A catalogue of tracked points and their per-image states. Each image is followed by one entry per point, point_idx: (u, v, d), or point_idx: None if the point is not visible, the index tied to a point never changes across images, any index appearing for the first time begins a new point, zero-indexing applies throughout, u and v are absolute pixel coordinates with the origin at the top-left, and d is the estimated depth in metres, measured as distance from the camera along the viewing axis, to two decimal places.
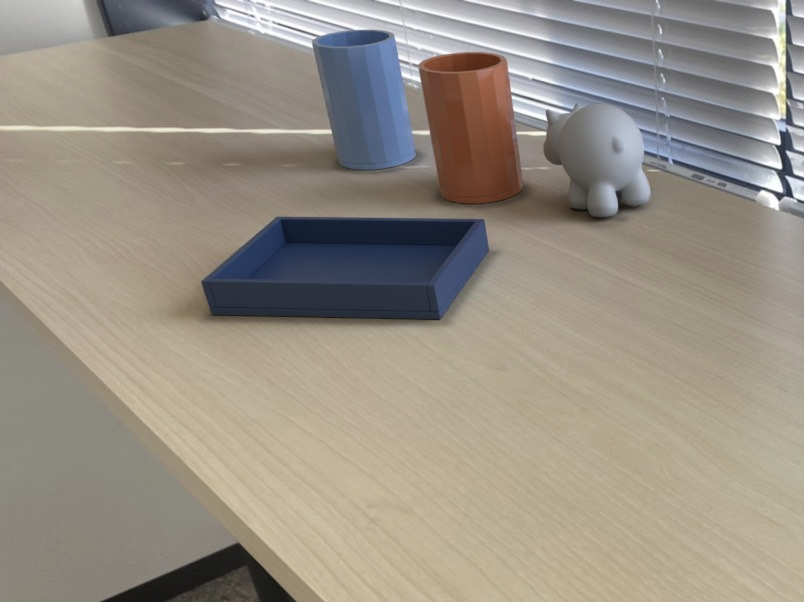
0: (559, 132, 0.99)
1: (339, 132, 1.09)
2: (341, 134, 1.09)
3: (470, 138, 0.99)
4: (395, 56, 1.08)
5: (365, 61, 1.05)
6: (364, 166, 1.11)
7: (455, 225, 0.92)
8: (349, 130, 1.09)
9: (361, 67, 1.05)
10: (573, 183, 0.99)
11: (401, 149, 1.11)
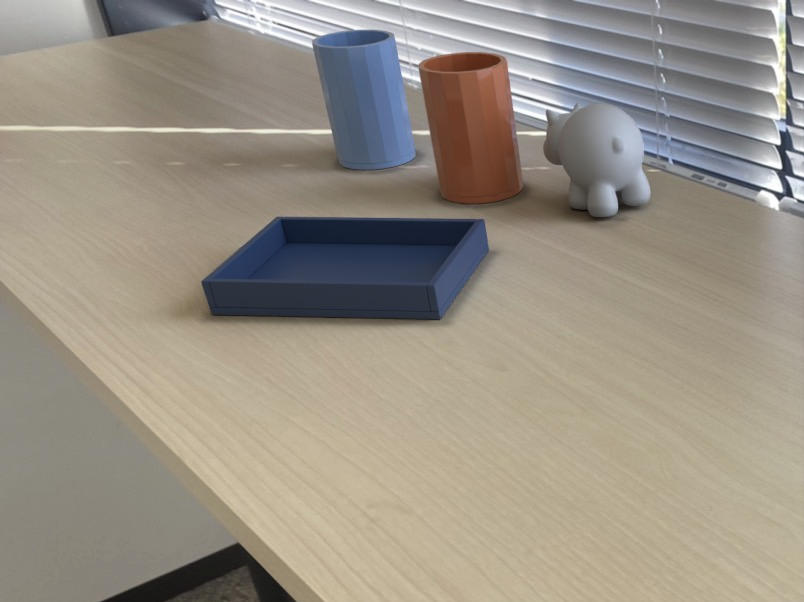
0: (559, 132, 0.99)
1: (339, 132, 1.09)
2: (341, 134, 1.09)
3: (470, 138, 0.99)
4: (395, 56, 1.08)
5: (365, 61, 1.05)
6: (364, 166, 1.11)
7: (455, 225, 0.92)
8: (349, 130, 1.09)
9: (361, 67, 1.05)
10: (573, 183, 0.99)
11: (401, 149, 1.11)
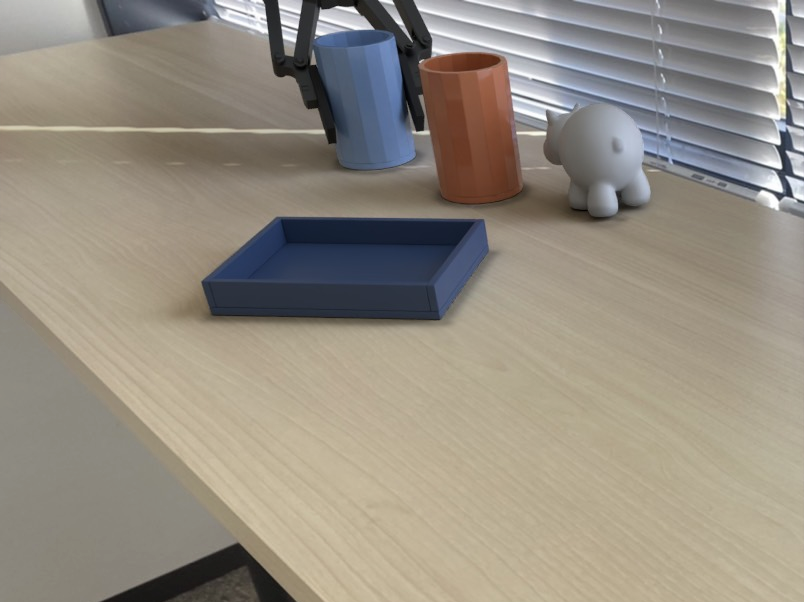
0: (559, 132, 0.99)
1: (339, 132, 1.09)
2: (341, 134, 1.09)
3: (470, 138, 0.99)
4: (395, 56, 1.08)
5: (365, 61, 1.05)
6: (364, 166, 1.11)
7: (455, 225, 0.92)
8: (349, 130, 1.09)
9: (361, 67, 1.05)
10: (573, 183, 0.99)
11: (401, 149, 1.11)
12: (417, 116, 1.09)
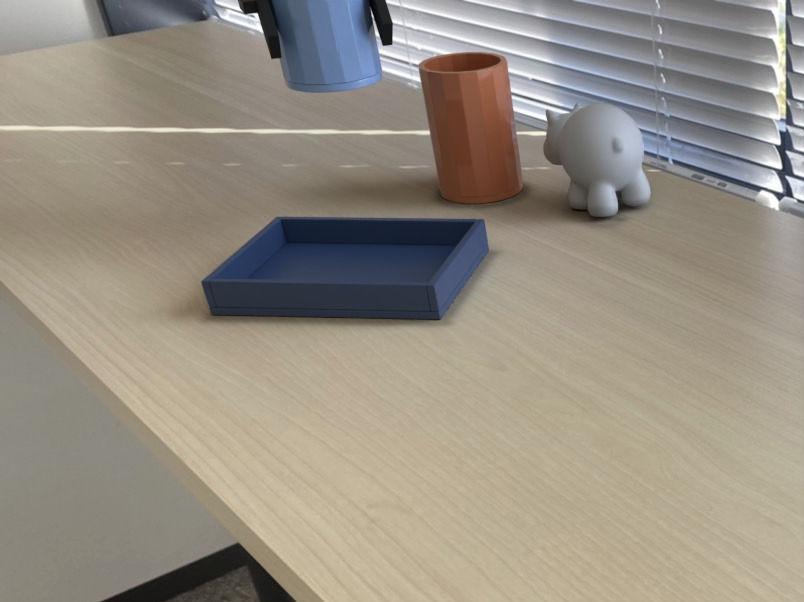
0: (559, 132, 0.99)
1: (285, 44, 0.87)
2: (287, 46, 0.87)
3: (470, 138, 0.99)
4: None
5: None
6: (317, 88, 0.88)
7: (455, 225, 0.92)
8: (297, 41, 0.86)
9: None
10: (573, 183, 0.99)
11: (364, 67, 0.89)
12: (383, 24, 0.87)
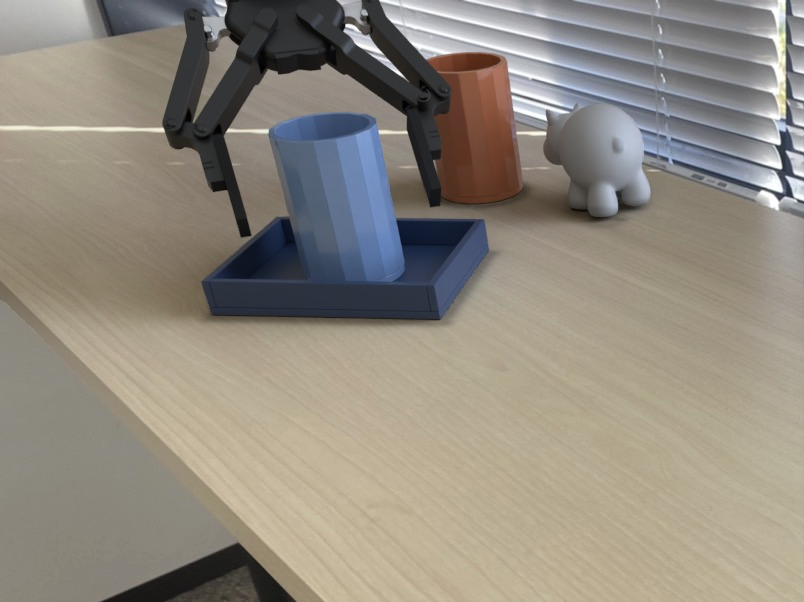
0: (559, 132, 0.99)
1: (305, 246, 0.84)
2: (308, 248, 0.84)
3: (470, 138, 0.99)
4: (378, 149, 0.83)
5: (338, 158, 0.80)
6: None
7: (455, 225, 0.92)
8: (318, 244, 0.83)
9: (332, 166, 0.80)
10: (573, 183, 0.99)
11: (386, 265, 0.86)
12: (432, 189, 0.85)
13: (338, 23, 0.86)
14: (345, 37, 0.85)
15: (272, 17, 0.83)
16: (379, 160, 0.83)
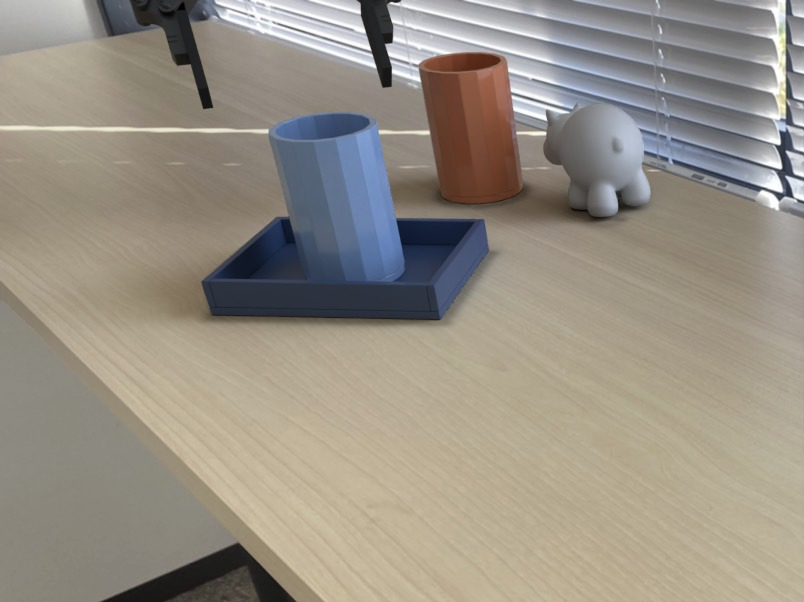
0: (559, 132, 0.99)
1: (305, 246, 0.84)
2: (308, 248, 0.84)
3: (470, 138, 0.99)
4: (378, 149, 0.83)
5: (338, 158, 0.80)
6: None
7: (455, 225, 0.92)
8: (318, 244, 0.83)
9: (332, 166, 0.80)
10: (573, 183, 0.99)
11: (386, 265, 0.86)
12: (383, 68, 0.91)
13: None
14: None
15: None
16: (379, 160, 0.83)
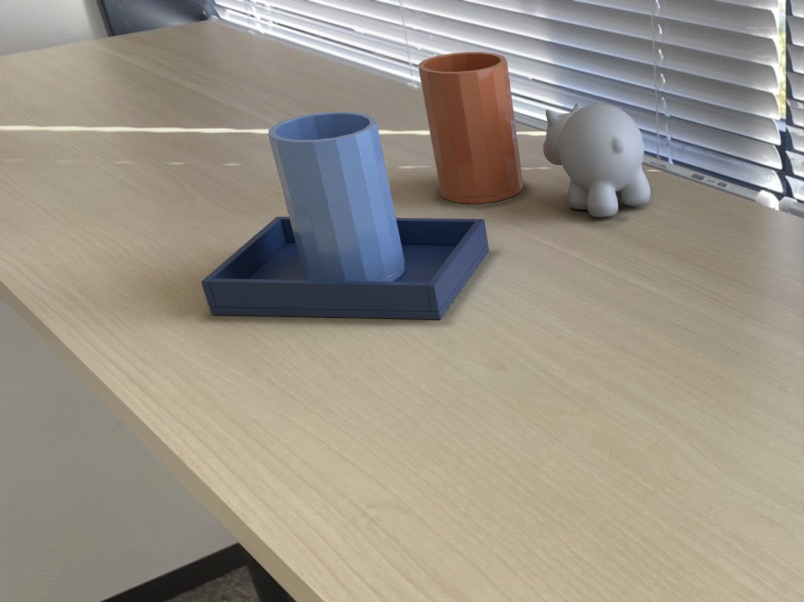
0: (559, 132, 0.99)
1: (305, 246, 0.84)
2: (308, 248, 0.84)
3: (470, 138, 0.99)
4: (378, 149, 0.83)
5: (338, 158, 0.80)
6: None
7: (455, 225, 0.92)
8: (318, 244, 0.83)
9: (332, 166, 0.80)
10: (573, 183, 0.99)
11: (386, 265, 0.86)
12: None
13: None
14: None
15: None
16: (379, 160, 0.83)
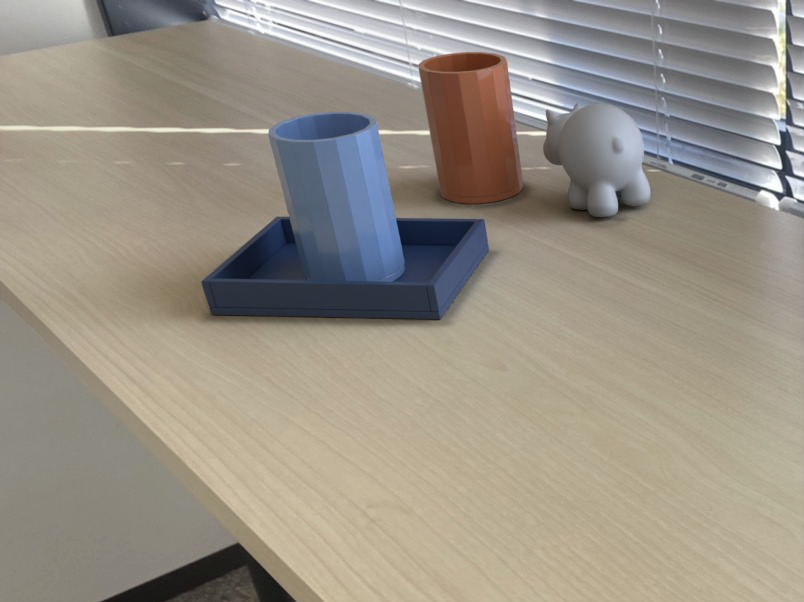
0: (559, 132, 0.99)
1: (305, 246, 0.84)
2: (308, 248, 0.84)
3: (470, 138, 0.99)
4: (378, 149, 0.83)
5: (338, 158, 0.80)
6: None
7: (455, 225, 0.92)
8: (318, 244, 0.83)
9: (332, 166, 0.80)
10: (573, 183, 0.99)
11: (386, 265, 0.86)
12: None
13: None
14: None
15: None
16: (379, 160, 0.83)
